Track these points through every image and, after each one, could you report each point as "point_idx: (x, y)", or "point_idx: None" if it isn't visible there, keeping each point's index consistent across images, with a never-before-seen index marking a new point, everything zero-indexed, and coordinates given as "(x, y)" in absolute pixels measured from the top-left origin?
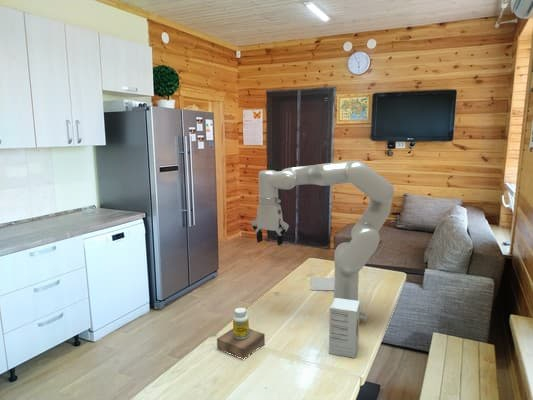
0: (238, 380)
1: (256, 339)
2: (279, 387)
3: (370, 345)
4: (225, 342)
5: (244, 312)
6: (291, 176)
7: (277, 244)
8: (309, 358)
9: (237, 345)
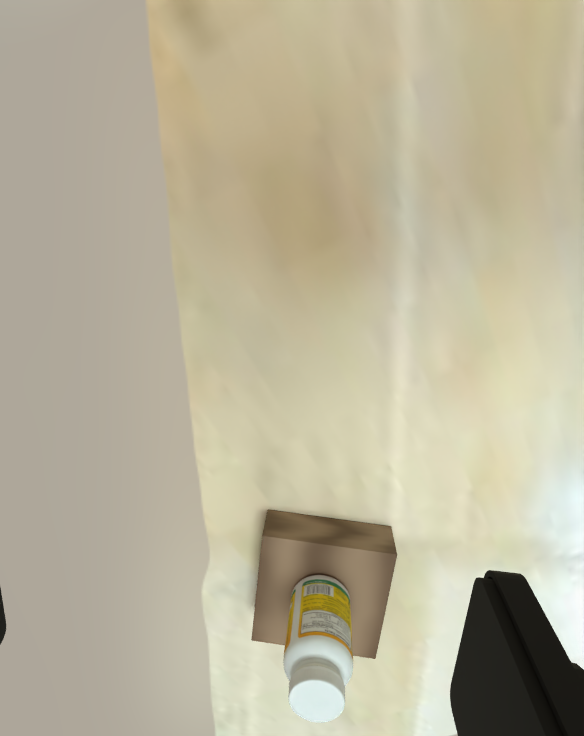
0: (405, 698)
1: (386, 596)
2: None
3: None
4: None
5: (344, 704)
6: None
7: (453, 711)
8: (580, 541)
9: None
